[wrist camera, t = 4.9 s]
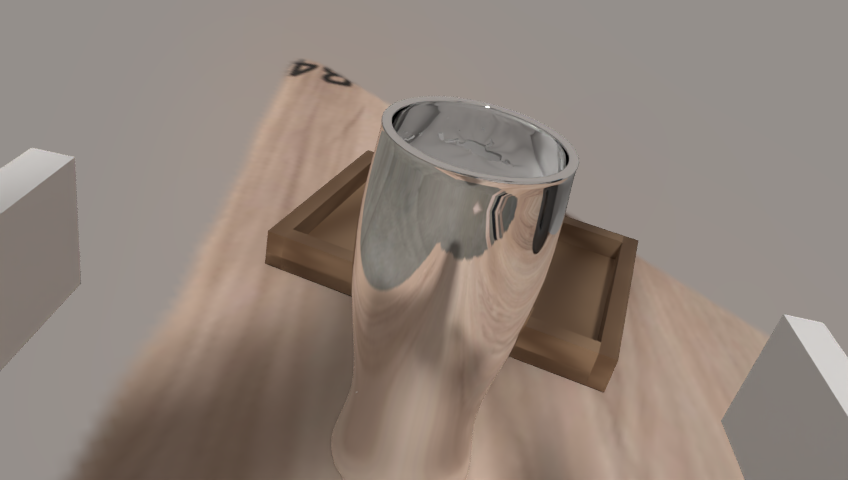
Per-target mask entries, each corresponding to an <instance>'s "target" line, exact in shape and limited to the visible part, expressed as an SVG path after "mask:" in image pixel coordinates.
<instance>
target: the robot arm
mask: <svg viewBox="0 0 848 480" xmlns="http://www.w3.org/2000/svg"><path fill="white" fill-rule="evenodd" d="M77 213H78V211H77V191H76V172H75V157H72V156H67V155H63V154H58V153H53V152H49V151H44V150H40V149H36V148H31V149H29V150H28V151H26V152H25V153H23V154H22V155H20V156H19V157H17V158H16V159H14V160H13V161H11V162H10V163H8V164H7V165H6V166H4V167H2V168H1V169H0V371H1V370H2V369H3V368H4V366H6V364H7V363H8V362H9V361H10V360H11V359H12V358H13V357H14V356H15V355H16V353H17V352H18V351H19V350H20V349H21V348H22V347H23V346H24V345H25V344H26V342H28V341H29V339H30V338H31V337H32V336H33V335H34V334H35V333H36V332H37V331H38V330H39V329H40V327H41V326H42V325H43V324H44V323H45V322H46V321H47V320H48V319H49V318H50V317H51V315H52V314H53V313H54V312H55V311H56V310H57V309H58V308H59V307H60V306H61V305H62V304H63V302H64V301H65V300H66V299H67V298H68V297H69V296H70V295H71V294H72V293H73V292H74V291H75V289H76V288H77V287H78V286H79V285H80V284H81V271H80V252H79V231H78V214H77ZM721 422H722V424H723V427H724V429H725V432H726V434H727V437H728V439H729V442H730V444H731V446H732V449H733V451H734V454H735V456H736V459H737V461H738V464H739V466H740V469H741V471H742V474H743V476H744V479H745V480H848V357H847V356H846V355H845V353H844V352H843V350H842V349H841V347H840V346H839V344H838V343H837V342H836V340H835V339H834V337H833V336H832V334H831V333H830V332H829V330H828V329H827V327H826V326H825V325H824V323H822V322H817V321H813V320H809V319H804V318H799V317H795V316H790V315H786V314H783V316H782V317H781V319H780V321H779V323H778V324H777V326H776V328H775V329H774V331H773V333H772V335H771V336H770V338H769V340H768V341H767V343H766V345H765V347H764V348H763V350H762V352H761V353H760V355H759V357H758V359H757V360H756V362H755V364H754V365H753V367H752V369H751V371H750V372H749V374H748V376H747V377H746V379H745V381H744V383H743V384H742V386H741V388H740V389H739V391H738V393H737V395H736V396H735V398H734V400H733V401H732V403H731V405H730V407H729V408H728V410H727V412H726V413H725V415H724V417H723V419H722V420H721Z"/></svg>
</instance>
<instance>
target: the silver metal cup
mask: <svg viewBox="0 0 848 480" xmlns="http://www.w3.org/2000/svg"><path fill="white" fill-rule="evenodd" d="M381 122H382V123H381V128H380V132H379V136H378V140H377V144H376V147H375V151H374V154H373V158H372V161H371V165H370V169H369V173H368V177H367V181H366V185H365V189H364V193H363V197H362V202H361V207H360V212H359V217H358V222H357V228H356V236H355V243H354V251H353V260H352V323H353V345H354V369H353V379H352V384H351V388H350V391H349V394H348V397H347V399H346V401H345V404H344V406H343V408H342V410H341V412H340V414H339V417H338V419H337V421H336V424H335V426H334V430H333V433H332V438H331V452H332V457H333V461H334V464H335V466H336V468H337V470H338V472H339V474H340V475H341V477H342V478H343V479H344V480H466V477H467V475H468V472H469V468H470V462H471V450H472V436H473V429H474V423H475V420H476V416H477V413H478V410H479V408H480V405H481V403H482V400H483V399H484V397H485V395H486V393H487V391H488V390H489V388H490V386H491V384H492V383H493V381H494V379H495V378H496V376H497V374H498V373H499V371H500V369H501V368H502V366H503V364H504V363H505V361H506V359H507V358H508V356H509V354H510V353H511V351H512V349H513V348H514V346H515V344H516V342H517V341H518V339H519V337H520V336H521V334H522V332H523V330H524V328H525V326H526V324H527V322H528V320H529V318H530V316H531V314H532V312H533V310H534V308H535V306H536V304H537V302H538V299H539V296H540V294H541V291H542V289H543V286H544V284H545V281H546V278H547V276H548V273H549V270H550V267H551V263H552V260H553V257H554V254H555V250H556V247H557V244H558V240H559V236H560V232H561V229H562V225H563V221H564V217H565V213H566V208H567V204H568V200H569V195H570V191H571V187H572V183H573V179H574V176H575V172H576V170H577V168H578V165H579V158H578V155H577V152H576V150H575V149H574V147H573V146H572V144H571V143H570V142H569V141H568V140H567V139H565V138H564V137H563V136H562V135H561V134H559V133H558V132H556V131H555V130H553V129H552V128H550V127H549V126H547V125H545V124H543V123H541V122H539V121H537V120H535V119H533V118H531V117H529V116H526V115H524V114H521V113H519V112H516V111H513V110H510V109H507V108H504V107H500V106H497V105H494V104H490V103H485V102H481V101H475V100H471V99H464V98H456V97H445V96H424V97H415V98H409V99H404V100H401V101H399V102H396V103H394V104H392V105H390V106H389V107H388V108H387V109H386V110H385V111H384V113H383V115H382V121H381Z"/></svg>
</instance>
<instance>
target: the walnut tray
mask: <svg viewBox="0 0 848 480" xmlns="http://www.w3.org/2000/svg"><path fill="white" fill-rule="evenodd" d="M373 154H374V152H371V151H366V152H365V153H364V154H363V155H361V156H360V157H359V158H358V159H356V160H355V161H354V162H353V163H351V164H350V165H349V166H348V167H347V168H345V169H344V170H343V171H342V172H340V173H339V174H338V175H337V176H335V177H334V178H333V179H332V180H330V181H329V182H328V183H327V184H326V185H324V186H323V187H322V188H321V189H319V190H318V191H317V192H316V193H314V194H313V195H312V196H311V197H309V198H308V199H307V200H306V201H305V202H303V203H302V204H301V205H300V206H298V207H297V208H296V209H295V210H293V211H292V212H291V213H290V214H288V215H287V216H286V217H285V218H284V219H282V220H281V221H280V222H279V223H277V224H276V225H275V226H274V227H272V228H271V229H270V230H269V231H268V239H267V249H266V260H265V263H266V264H268V265H271V266H274V267H276V268H279V269H281V270H284V271H287V272H289V273H292V274H295V275H297V276H300V277H302V278H305V279H308V280H310V281H313V282H316V283H318V284H321V285H323V286H326V287H329V288H331V289H334V290H337V291H339V292H342V293H344V294H347V295H350V296H352V260H353V251H354V243H355V236H356V228H357V222H358V217H359V212H360V207H361V202H362V197H363V193H364V189H365V185H366V181H367V177H368V173H369V169H370V165H371V161H372V158H373ZM637 245H638V240H635V239H632V238H629V237H625V236H623V235H620V234H617V233H613V232H611V231H607V230H605V229H602V228H599V227H596V226H593V225H590V224H587V223H584V222H581V221H578V220H575V219H572V218H569V217H566V216H565V217H564V221H563V225H562V229H561V232H560V236H559V240H558V244H557V247H556V250H555V254H554V257H553V260H552V263H551V267H550V270H549V273H548V276H547V278H546V281H545V284H544V286H543V289H542V291H541V294H540V296H539V299H538V302H537V304H536V306H535V308H534V310H533V312H532V314H531V316H530V318H529V320H528V322H527V324H526V326H525V328H524V330H523V332H522V334H521V336H520V337H519V339H518V341H517V342H516V344H515V346H514V348H513V349H512V351H511V353H510V354H509V356H510V357H512V358H515V359H518V360H520V361H523V362H526V363H528V364H531V365H533V366H536V367H539V368H541V369H544V370H547V371H549V372H552V373H554V374H557V375H560V376H562V377H565V378H568V379H570V380H573V381H575V382H578V383H581V384H583V385H586V386H589V387H591V388H594V389H596V390H599V391H602V392H604V391H605V389H606V387H607V384H608V382H609V380H610V378H611V375H612V373H613V371H614V368H615V366H616V364H617V362H618V358H619V352H620V346H621V340H622V334H623V328H624V322H625V316H626V310H627V304H628V298H629V292H630V286H631V280H632V274H633V269H634V263H635V257H636V251H637Z"/></svg>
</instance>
